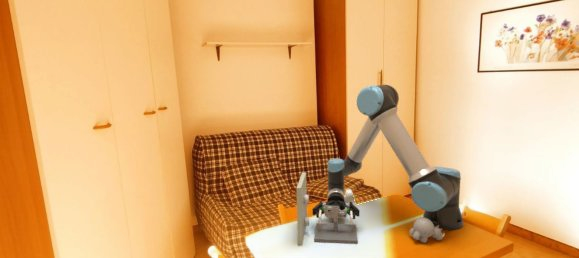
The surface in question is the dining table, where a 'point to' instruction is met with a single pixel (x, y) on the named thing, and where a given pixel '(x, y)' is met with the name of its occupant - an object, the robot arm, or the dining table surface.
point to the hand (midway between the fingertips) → (335, 220)
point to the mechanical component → (335, 214)
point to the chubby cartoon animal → (425, 230)
